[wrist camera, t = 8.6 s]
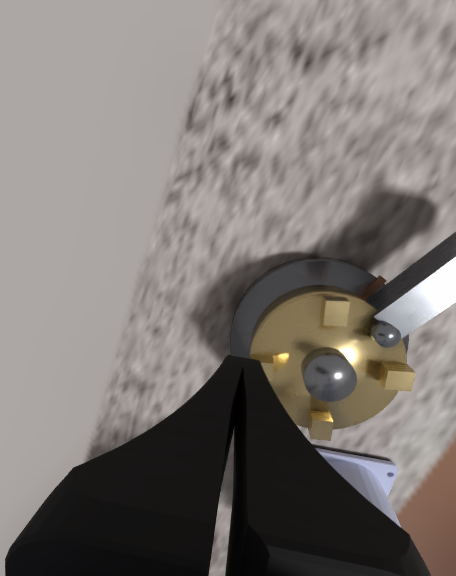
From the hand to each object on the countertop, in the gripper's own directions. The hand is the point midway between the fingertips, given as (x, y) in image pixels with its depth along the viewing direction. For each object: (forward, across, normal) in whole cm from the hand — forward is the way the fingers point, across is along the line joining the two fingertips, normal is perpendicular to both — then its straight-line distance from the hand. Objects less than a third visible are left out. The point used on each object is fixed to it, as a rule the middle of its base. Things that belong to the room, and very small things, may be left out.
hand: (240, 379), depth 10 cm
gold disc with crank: (+8, -8, -1) cm, 11 cm away
